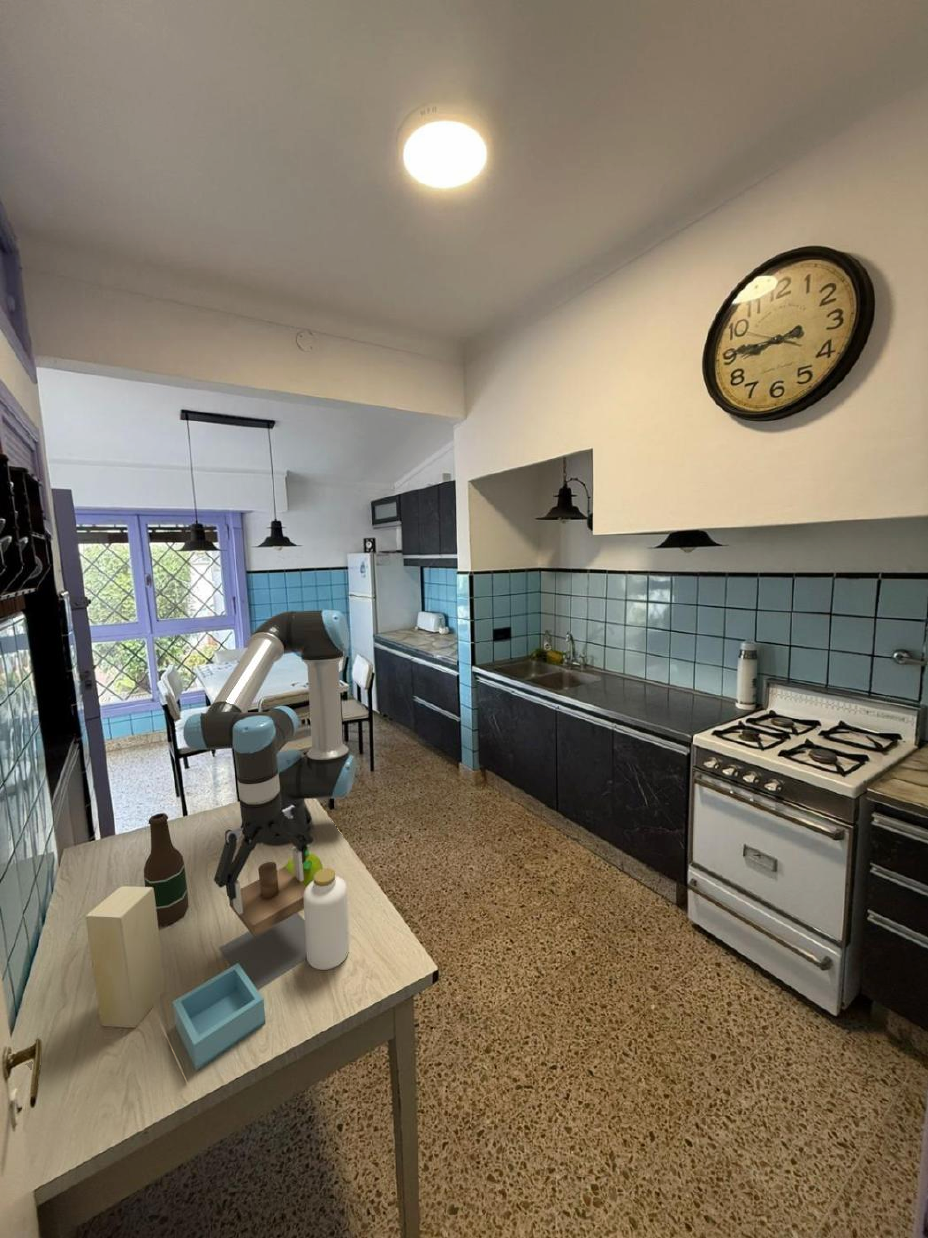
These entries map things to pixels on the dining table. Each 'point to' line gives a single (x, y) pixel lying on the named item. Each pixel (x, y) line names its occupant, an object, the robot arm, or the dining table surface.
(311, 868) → the fruit
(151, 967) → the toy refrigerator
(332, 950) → the potion bottle
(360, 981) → the dining table surface
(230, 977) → the dish
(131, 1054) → the dining table surface
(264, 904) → the lid cover
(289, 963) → the mat
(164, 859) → the beer bottle
